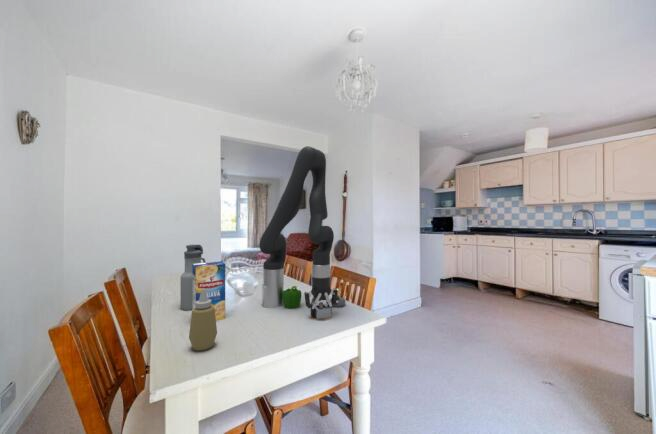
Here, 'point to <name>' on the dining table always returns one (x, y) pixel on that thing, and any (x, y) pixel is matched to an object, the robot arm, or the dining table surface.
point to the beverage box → (210, 285)
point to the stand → (319, 308)
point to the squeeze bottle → (203, 324)
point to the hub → (339, 300)
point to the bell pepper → (291, 298)
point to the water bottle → (189, 274)
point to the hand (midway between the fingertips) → (321, 316)
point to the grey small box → (322, 312)
